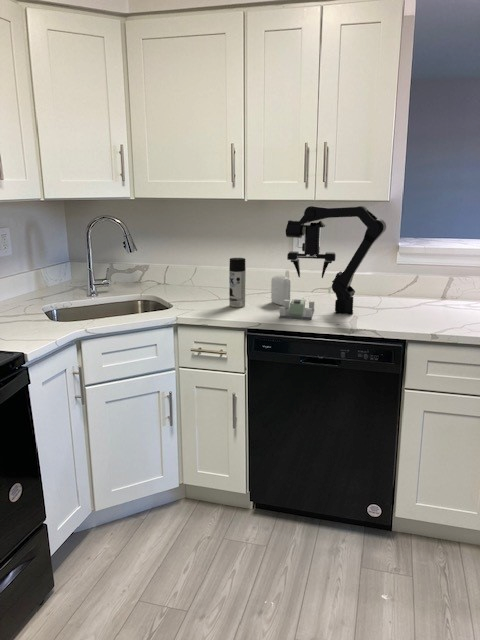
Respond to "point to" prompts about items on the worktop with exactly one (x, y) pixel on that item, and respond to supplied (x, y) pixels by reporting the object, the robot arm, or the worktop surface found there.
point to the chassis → (286, 314)
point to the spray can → (237, 282)
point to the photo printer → (280, 289)
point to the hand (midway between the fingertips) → (310, 277)
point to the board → (297, 306)
